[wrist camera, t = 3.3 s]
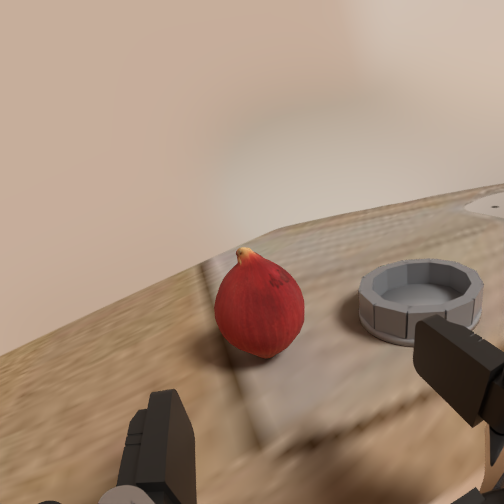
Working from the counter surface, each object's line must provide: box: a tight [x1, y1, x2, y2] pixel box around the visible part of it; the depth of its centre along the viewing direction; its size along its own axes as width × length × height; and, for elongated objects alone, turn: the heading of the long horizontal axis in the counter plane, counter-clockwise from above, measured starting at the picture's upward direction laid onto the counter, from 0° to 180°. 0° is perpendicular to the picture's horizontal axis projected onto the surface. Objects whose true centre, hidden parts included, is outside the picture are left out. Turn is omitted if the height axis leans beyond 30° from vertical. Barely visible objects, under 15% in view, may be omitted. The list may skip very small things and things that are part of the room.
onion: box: [214, 247, 304, 359], centre depth 20 cm, size 6×6×8 cm
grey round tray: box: [359, 259, 484, 347], centre depth 22 cm, size 10×10×2 cm
